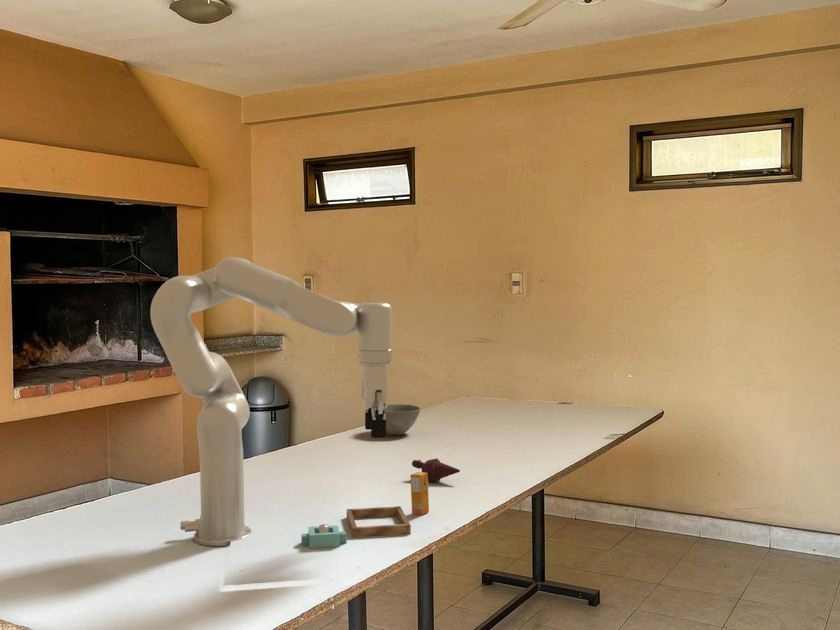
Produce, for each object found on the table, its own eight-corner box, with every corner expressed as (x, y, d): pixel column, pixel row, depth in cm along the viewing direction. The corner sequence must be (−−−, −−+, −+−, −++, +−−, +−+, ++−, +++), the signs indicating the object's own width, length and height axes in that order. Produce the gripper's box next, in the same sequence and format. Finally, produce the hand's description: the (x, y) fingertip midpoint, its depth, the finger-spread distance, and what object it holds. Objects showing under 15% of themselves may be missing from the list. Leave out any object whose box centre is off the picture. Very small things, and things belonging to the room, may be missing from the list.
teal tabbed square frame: (302, 548, 170) (302, 535, 170) (301, 540, 175) (301, 527, 175) (347, 546, 172) (347, 533, 171) (344, 537, 177) (344, 524, 177)
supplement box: (417, 510, 201) (417, 470, 201) (429, 512, 199) (429, 472, 199) (410, 513, 198) (410, 473, 198) (421, 515, 196) (421, 475, 196)
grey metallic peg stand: (312, 552, 171) (312, 530, 170) (311, 544, 176) (311, 522, 175) (336, 550, 171) (336, 528, 171) (335, 542, 177) (334, 521, 176)
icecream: (464, 458, 230) (417, 458, 236) (455, 457, 223) (406, 457, 229) (464, 483, 228) (416, 482, 234) (454, 482, 222) (405, 482, 228)
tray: (352, 541, 177) (352, 528, 177) (346, 521, 192) (346, 509, 192) (410, 538, 180) (410, 525, 179) (400, 518, 194) (400, 506, 194)
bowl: (420, 439, 288) (420, 411, 288) (368, 439, 288) (368, 411, 288) (421, 429, 307) (421, 403, 306) (372, 429, 307) (372, 403, 307)
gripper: (354, 354, 187) (353, 426, 188) (363, 362, 170) (363, 441, 171) (385, 353, 189) (385, 425, 189) (398, 361, 172) (398, 440, 172)
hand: (375, 433), depth 180 cm, fingers open, 9 cm apart
